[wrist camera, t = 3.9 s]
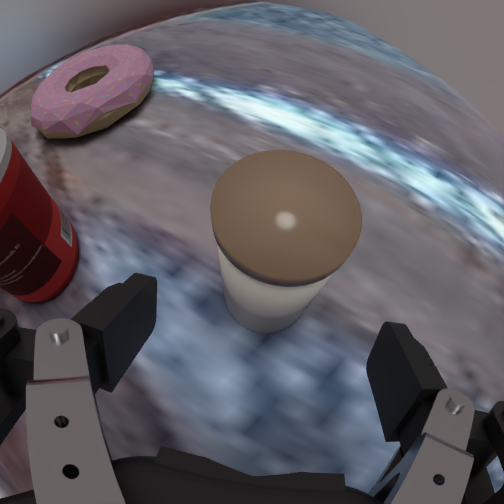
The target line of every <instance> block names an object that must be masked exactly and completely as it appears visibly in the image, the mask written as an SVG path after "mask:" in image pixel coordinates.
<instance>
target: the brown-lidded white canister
mask: <svg viewBox="0 0 504 504" xmlns="http://www.w3.org/2000/svg"><path fill="white" fill-rule="evenodd" d="M210 210H211V221H212V228H213V232H214V236H215V239H216V241H217V246H218V254H219V261H220V269H221V276H222V284H223V291H224V298H225V303H226V306H227V308H228V311H229V312H230V314H231V316H232V317H233V318H234V319H235V320H236V321H237V322H238V323H239V324H240V325H241V326H243V327H245V328H246V329H249V330H251V331H254V332H258V333H275V332H278V331H281V330H284V329H286V328H288V327H289V326H291V325H292V324H293V323H294V322H295V321H296V320H297V319H298V318H299V317H300V315H301V314H302V313H303V312H304V310H305V309H306V308H307V307H308V305H309V304H310V303H311V301H312V300H313V299H314V298H315V296H316V295H317V294H318V292H319V291H320V290H321V288H322V287H323V286H324V284H325V283H326V282H327V280H328V279H329V278H330V276H331V275H332V274H333V273H334V272H335V271H336V270H338V269H339V268H340V266H341V265H342V264H343V263H344V262H345V261H346V259H347V258H348V257H349V255H350V254H351V252H352V251H353V249H354V248H355V246H356V244H357V242H358V240H359V237H360V233H361V227H362V214H361V209H360V205H359V202H358V199H357V197H356V195H355V193H354V191H353V189H352V188H351V186H350V185H349V183H348V182H347V181H346V180H345V178H344V177H343V176H342V175H341V174H340V173H339V172H337V171H336V170H335V169H334V168H332V167H331V166H330V165H328V164H326V163H325V162H323V161H321V160H319V159H317V158H315V157H312V156H310V155H307V154H303V153H299V152H294V151H287V150H271V151H264V152H259V153H255V154H252V155H250V156H247V157H245V158H243V159H241V160H239V161H238V162H236V163H235V164H233V165H232V166H231V167H230V168H228V169H227V170H226V171H225V172H224V174H223V175H222V176H221V177H220V179H219V180H218V182H217V184H216V186H215V188H214V190H213V194H212V198H211V205H210Z"/></svg>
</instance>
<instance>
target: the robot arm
mask: <svg viewBox="0 0 504 504" xmlns="http://www.w3.org/2000/svg"><path fill="white" fill-rule="evenodd" d="M156 306H157V280H156V278H155V277H152V276H148V275H143V274H139V273H134V274H133V275H132V276H130V277H129V278H128V279H127V280H126V281H125V282H124V283H117V284H114V285H112V286H109V287H107V288H106V289H105V290H103V291H102V292H101V293H100V294H99V296H97V297H95V298H94V299H93V300H92V302H90V303H89V304H87V305H86V306H85V307H84V308H83V309H82V310H81V311H79V312H78V313H77V314H76V315H75V316H74V317H73V318H72V319H71V320H69V319H53V320H49V321H47V322H45V323H43V324H42V325H40V326H39V328H38V329H37V330H32V329H26V328H20V327H18V324H17V320H16V316H15V315H14V313H13V312H11V311H9V310H6V309H0V445H1V444H2V442H3V441H4V439H5V438H6V436H7V435H8V433H9V432H10V430H11V429H12V428H13V426H14V425H15V423H16V422H17V421H18V419H19V418H20V416H21V415H22V414H23V412H24V411H25V409H26V421H27V438H28V450H29V459H30V467H31V475H32V481H33V487H34V489H33V490H30V491H27V492H23V493H20V494H16V495H13V496H9V497H5V498H1V499H0V504H504V484H503V486H502V488H501V489H500V490H499V491H498V492H496V493H495V492H494V489H493V486H492V483H491V480H490V477H489V474H488V471H487V468H486V467H487V466H488V465H489V464H490V463H491V462H492V461H493V460H494V459H495V458H496V456H497V455H498V458H499V460H500V463H501V465H502V468H503V471H504V401H499V402H497V403H496V404H495V405H494V406H493V408H492V409H491V410H490V412H489V413H486V412H481V411H477V410H474V405H473V403H472V402H471V400H470V399H469V398H468V397H467V396H466V395H465V394H463V393H462V392H460V391H458V390H455V389H448V388H447V386H446V384H445V382H444V380H443V379H442V377H441V375H440V373H439V371H438V370H437V368H436V366H434V363H433V361H432V359H431V358H430V356H429V354H428V352H427V351H426V349H425V347H424V346H422V345H421V344H420V343H419V342H418V341H417V340H416V339H414V337H413V336H412V334H411V332H410V331H409V329H408V327H407V326H406V325H405V324H401V323H393V322H385V323H384V324H383V325H382V327H381V329H380V332H379V334H378V336H377V339H376V341H375V343H374V346H373V348H372V350H371V353H370V355H369V357H368V361H367V367H366V371H367V376H368V379H369V382H370V386H371V389H372V393H373V396H374V400H375V403H376V407H377V410H378V414H379V418H380V421H381V425H382V429H383V433H384V437H385V441H386V442H396V441H400V446H399V448H398V449H397V450H396V452H395V453H394V455H393V457H392V458H391V460H390V462H389V463H388V465H387V467H386V468H385V470H384V471H383V473H382V474H381V476H380V478H379V479H378V481H377V482H376V484H375V485H374V487H373V488H372V489H371V491H370V492H369V493H368V494H367V493H365V492H362V491H360V490H358V489H355V488H352V487H348V486H345V478H344V474H329V473H308V472H298V473H290V474H281V475H270V476H250V475H247V474H244V473H242V472H239V471H236V470H234V469H231V468H229V467H227V466H224V465H222V464H219V463H217V462H215V461H212V460H210V459H208V458H205V457H201V456H197V455H193V454H189V453H185V452H181V451H178V450H174V449H171V448H167V447H164V446H161V447H160V450H159V452H158V455H157V457H152V456H137V457H127V458H121V459H117V460H113V459H112V456H111V453H110V450H109V447H108V443H107V440H106V437H105V433H104V429H103V426H102V422H101V418H100V414H99V410H98V406H97V402H96V398H95V393H96V392H97V391H98V389H99V388H101V389H103V390H106V391H108V392H111V393H112V391H113V390H114V388H115V387H116V385H117V384H118V382H119V381H120V379H121V378H122V376H123V375H124V373H125V372H126V370H127V369H128V367H129V366H130V364H131V363H132V361H133V360H134V358H135V357H136V355H137V354H138V352H139V351H140V349H141V348H142V346H143V345H144V343H145V342H146V341H147V339H148V338H149V336H150V335H151V333H152V331H153V329H154V326H155V322H156Z"/></svg>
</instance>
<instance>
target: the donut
mask: <svg viewBox="0 0 504 504" xmlns="http://www.w3.org/2000/svg"><path fill="white" fill-rule="evenodd" d="M153 77H154V64H153V62H152V60H151V59H150V58H149V57H148V55H147V54H146V53H145V52H144V51H143V50H142V49H140V48H137V47H134V46H131V45H108V46H105V47H101V48H97V49H94V50H90V51H87V52H85V53H83V54H81V55H79V56H77V57H75V58H73V59H71V60H69V61H68V62H66V63H64V64H62V65H60V66H59V67H58V68H57V69H56V70H54V71H53V72H52V73H51V74H50V75H49V76H48V77H47V78H46V79H45V80H44V81H43V82H42V83H41V84H40V85H39V86H38V88H37V90H36V92H35V94H34V96H33V98H32V105H31V123H32V126H33V127H36V128H38V129H39V130H40V131H41V132H42V133H43V134H44V135H45V136H46V137H47V138H48V139H52V138H74V137H79V136H82V135H86V134H89V133H92V132H95V131H98V130H102V129H105V128H108V127H109V126H111V125H112V124H113V123H114V122H116V121H117V120H118V119H120V118H121V117H123V116H124V115H125V114H127V113H128V112H129V111H131V110H132V109H134V108H135V107H136V106H138V105H139V104H140V103H142V101H143V100H144V98H145V97H146V95H147V94H148V93H149V91H150V90H151V86H152V82H153Z"/></svg>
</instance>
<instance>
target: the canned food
mask: <svg viewBox="0 0 504 504" xmlns="http://www.w3.org/2000/svg"><path fill="white" fill-rule="evenodd" d="M77 260H78V241H77V237H76V233H75V231H74V228H73V226H72V224H71V223H70V221H69V220H68V219H67V217H66V216H65V215H64V213H63V212H62V211H61V210H60V208H59V207H58V206H57V204H56V203H55V202H54V200H53V199H52V198H51V196H50V195H49V194H48V192H47V191H46V190H45V188H44V187H43V186H42V184H41V183H40V181H39V180H38V179H37V177H36V176H35V174H34V173H33V171H32V170H31V169H30V167H29V166H28V164H27V163H26V161H25V160H24V158H23V157H22V155H21V154H20V152H19V151H18V149H17V148H16V147H15V145H14V144H13V142H12V141H11V139H10V137H9V136H7V135H6V133H5V131H3V130H2V129H1V128H0V288H1V289H3V290H5V291H6V292H8V293H10V294H11V295H13V296H15V297H17V298H18V299H21V300H23V301H27V302H44V301H47V300H49V299H51V298H53V297H54V296H56V295H57V294H59V293H60V292H61V291H62V290H63V289H64V288H65V286H66V285H67V283H68V282H69V281H70V279H71V277H72V275H73V273H74V270H75V268H76V265H77Z"/></svg>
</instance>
